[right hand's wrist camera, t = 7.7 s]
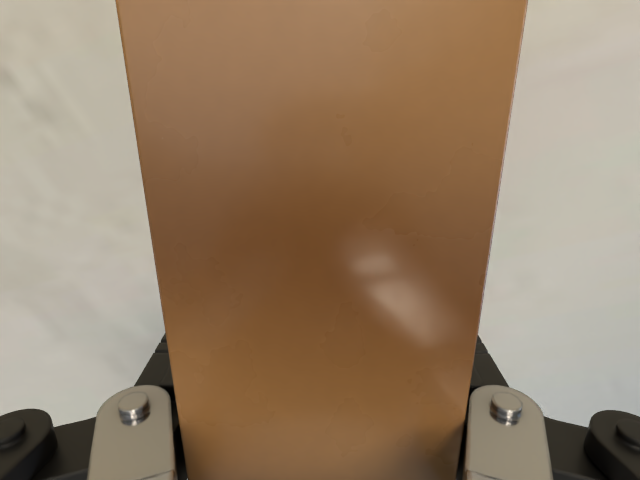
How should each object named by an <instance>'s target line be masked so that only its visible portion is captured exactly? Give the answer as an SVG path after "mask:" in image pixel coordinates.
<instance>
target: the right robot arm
mask: <svg viewBox="0 0 640 480" xmlns="http://www.w3.org/2000/svg"><path fill="white" fill-rule="evenodd" d="M0 480H187V471H186V464H185V458H184V451H183V444H182V438H181V431H180V425H179V418H178V411H177V405H176V398H175V391H174V385H173V378H172V372H171V365H170V358H169V352H168V345H167V338H166V333H165V335H164V336H163V338H162V340H161V343H159V345H158V346H157V348H156V350H155V353H153V355H152V357H151V358H150V360H149V362H148V363H147V365H146V367H145V368H144V370H143V372H142V374H141V375H140V377H139V379H138V380H137V382H136V384H135V385H134V387H131V388H127V389H125V390H122V391H120V392H118V393H116V394H115V395H113V396H112V397H110V398H109V399H108V400H107V401H106V402H104V403H103V405H102V406H101V407H100V409H99V411H98V412H97V416H96V417H94V418H91V419H87V420H83V421H79V422H74V423H70V424H66V425H61V426H57V427H53V423H52V420H51V417H50V415H49V414H48V413H47V412H45V411H43V410H39V409H23V410H18V411H14V412H10V413H7V414H5V415H2V416H0ZM456 480H640V417H639V416H636V415H633V414H630V413H627V412H622V411H616V410H605V411H600V412H597V413H596V414H594V415H593V416H592V418H591V420H590V423H589V427H588V428H587V427H583V426H579V425H574V424H570V423H566V422H561V421H557V420H554V419H550V418H547V417H545V416H543V413H542V411H541V409H540V407H539V406H538V405H537V403H535V402H534V401H533V400H532V399H531V398H530V397H528V396H527V395H525V394H524V393H522V392H520V391H518V390H515V389H513V388H509V386H508V384H507V383H506V381H505V379H504V378H503V376H502V374H501V373H500V371H499V369H498V368H497V366H496V364H495V363H494V361H493V359H492V358H491V356H490V354H488V351H487V349H486V347H485V346H484V344H483V343H482V342H481V339H480V337H479V336H477V342H476V349H475V356H474V362H473V369H472V376H471V382H470V389H469V395H468V402H467V409H466V415H465V422H464V429H463V435H462V442H461V449H460V455H459V462H458V468H457V475H456Z"/></svg>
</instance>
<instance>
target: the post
mask: <svg viewBox="0 0 640 480" xmlns="http://www.w3.org/2000/svg"><path fill="white" fill-rule="evenodd" d="M527 4H528V0H116V7H117V14H118V20H119V27H120V34H121V40H122V47H123V53H124V60H125V67H126V73H127V80H128V87H129V93H130V100H131V106H132V113H133V120H134V126H135V133H136V140H137V146H138V153H139V159H140V166H141V173H142V179H143V186H144V193H145V199H146V206H147V213H148V219H149V226H150V232H151V239H152V246H153V252H154V259H155V266H156V272H157V279H158V285H159V292H160V299H161V305H162V312H163V319H164V325H165V332H166V338H167V345H168V352H169V358H170V365H171V372H172V378H173V385H174V391H175V398H176V405H177V411H178V418H179V425H180V431H181V438H182V444H183V451H184V458H185V464H186V471H187V478H188V480H456V475H457V468H458V462H459V455H460V449H461V442H462V435H463V429H464V422H465V415H466V409H467V402H468V395H469V389H470V382H471V376H472V369H473V362H474V356H475V349H476V342H477V336H478V329H479V322H480V316H481V309H482V302H483V296H484V289H485V283H486V276H487V269H488V263H489V256H490V249H491V243H492V236H493V229H494V223H495V216H496V210H497V203H498V196H499V190H500V183H501V176H502V170H503V163H504V156H505V150H506V143H507V137H508V130H509V123H510V117H511V110H512V103H513V97H514V90H515V83H516V77H517V70H518V64H519V57H520V50H521V44H522V37H523V30H524V24H525V17H526V10H527Z"/></svg>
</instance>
